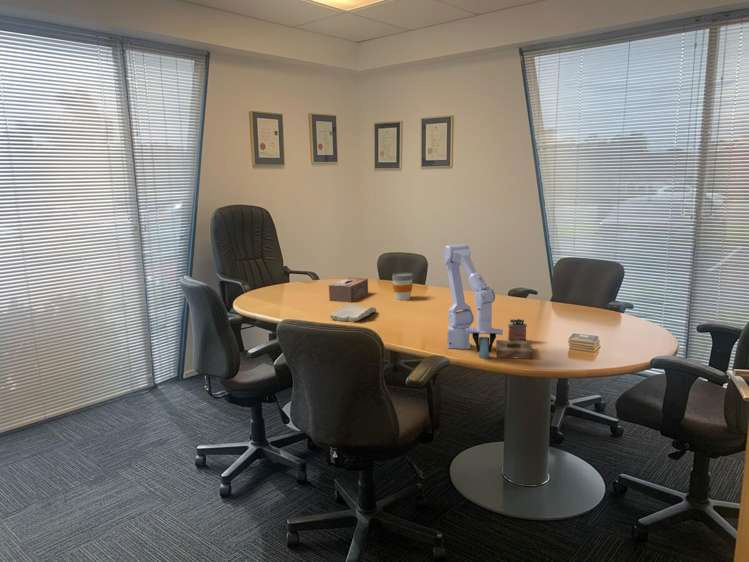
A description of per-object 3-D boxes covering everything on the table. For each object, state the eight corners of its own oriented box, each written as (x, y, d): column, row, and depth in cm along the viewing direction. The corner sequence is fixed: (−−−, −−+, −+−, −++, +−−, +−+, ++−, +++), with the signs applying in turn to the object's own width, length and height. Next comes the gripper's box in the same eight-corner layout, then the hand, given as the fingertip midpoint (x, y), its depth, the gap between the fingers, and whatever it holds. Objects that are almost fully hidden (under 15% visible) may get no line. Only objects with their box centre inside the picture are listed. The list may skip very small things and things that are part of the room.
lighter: (524, 339, 241) (525, 317, 239) (527, 341, 238) (527, 319, 236) (506, 340, 241) (507, 318, 239) (509, 342, 237) (509, 320, 236)
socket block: (496, 357, 218) (496, 350, 218) (496, 346, 232) (496, 340, 231) (532, 358, 215) (532, 351, 215) (530, 348, 229) (530, 341, 228)
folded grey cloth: (382, 314, 296) (350, 308, 304) (382, 301, 294) (350, 295, 302) (361, 327, 275) (327, 320, 283) (362, 313, 273) (328, 306, 281)
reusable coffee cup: (388, 299, 327) (388, 275, 324) (399, 295, 337) (399, 271, 334) (406, 301, 320) (405, 276, 317) (417, 297, 330) (416, 273, 327)
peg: (478, 358, 218) (478, 339, 216) (479, 355, 222) (479, 336, 220) (488, 358, 217) (489, 339, 215) (489, 355, 221) (489, 336, 219)
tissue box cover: (347, 292, 351) (347, 277, 349) (368, 294, 346) (367, 278, 344) (329, 301, 328) (328, 285, 326) (351, 302, 322) (350, 286, 320)
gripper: (465, 320, 214) (465, 353, 216) (503, 321, 211) (502, 355, 213) (466, 316, 221) (466, 348, 223) (502, 317, 218) (502, 349, 220)
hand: (484, 351), depth 219 cm, fingers closed on peg, 4 cm apart
